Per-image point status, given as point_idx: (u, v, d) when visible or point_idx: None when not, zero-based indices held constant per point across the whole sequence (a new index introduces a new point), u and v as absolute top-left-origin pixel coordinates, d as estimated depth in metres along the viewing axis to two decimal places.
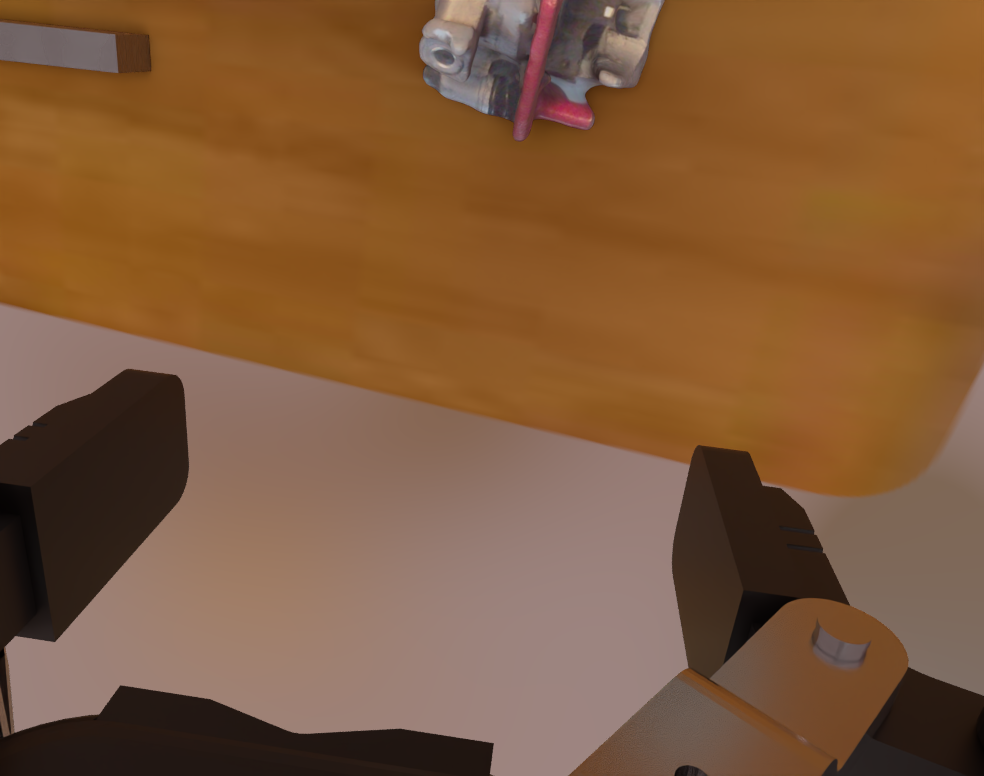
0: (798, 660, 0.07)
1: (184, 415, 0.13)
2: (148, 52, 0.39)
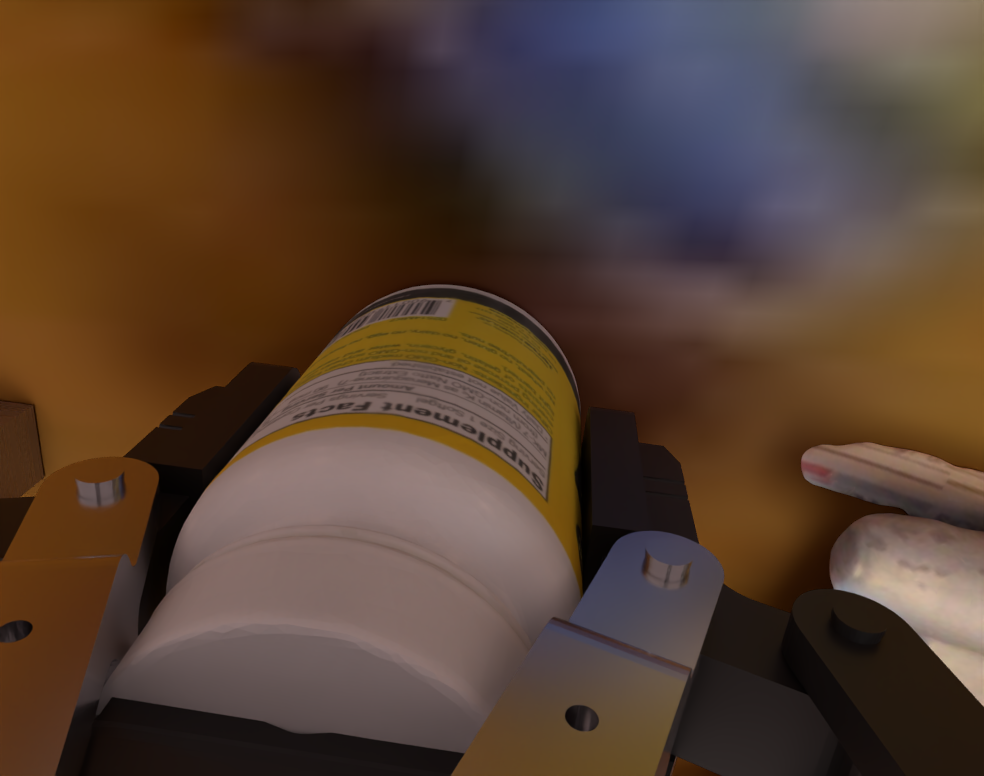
0: (637, 589, 0.08)
1: None
2: None
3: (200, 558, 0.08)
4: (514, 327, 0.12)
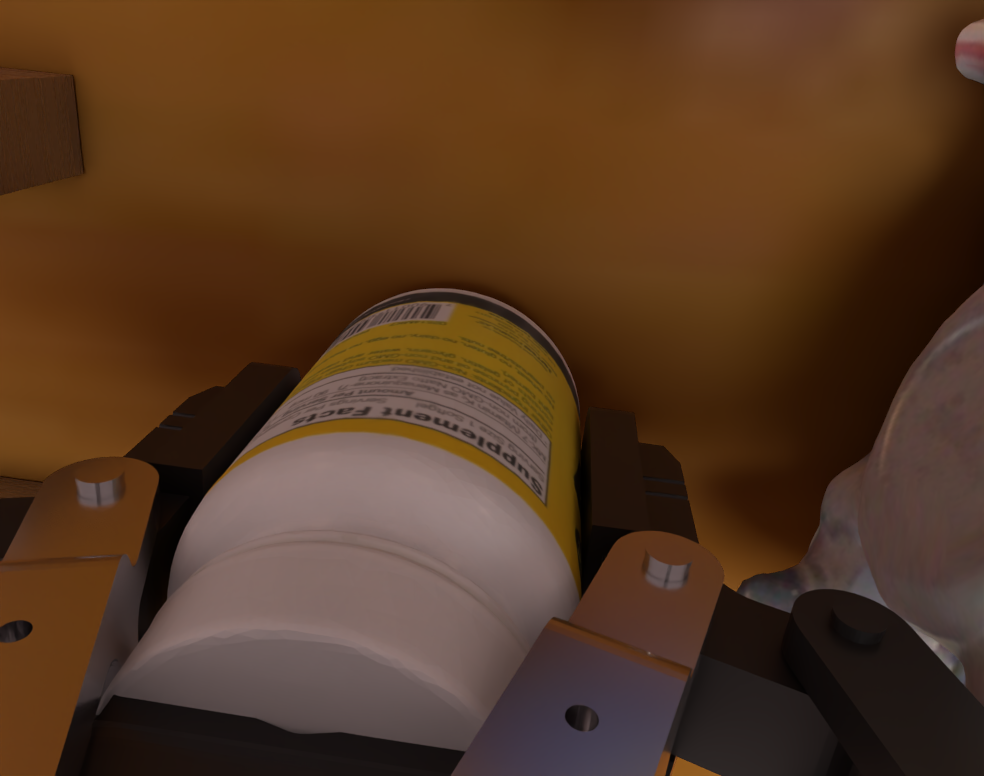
0: (637, 589, 0.08)
1: None
2: None
3: (201, 563, 0.08)
4: (514, 331, 0.12)
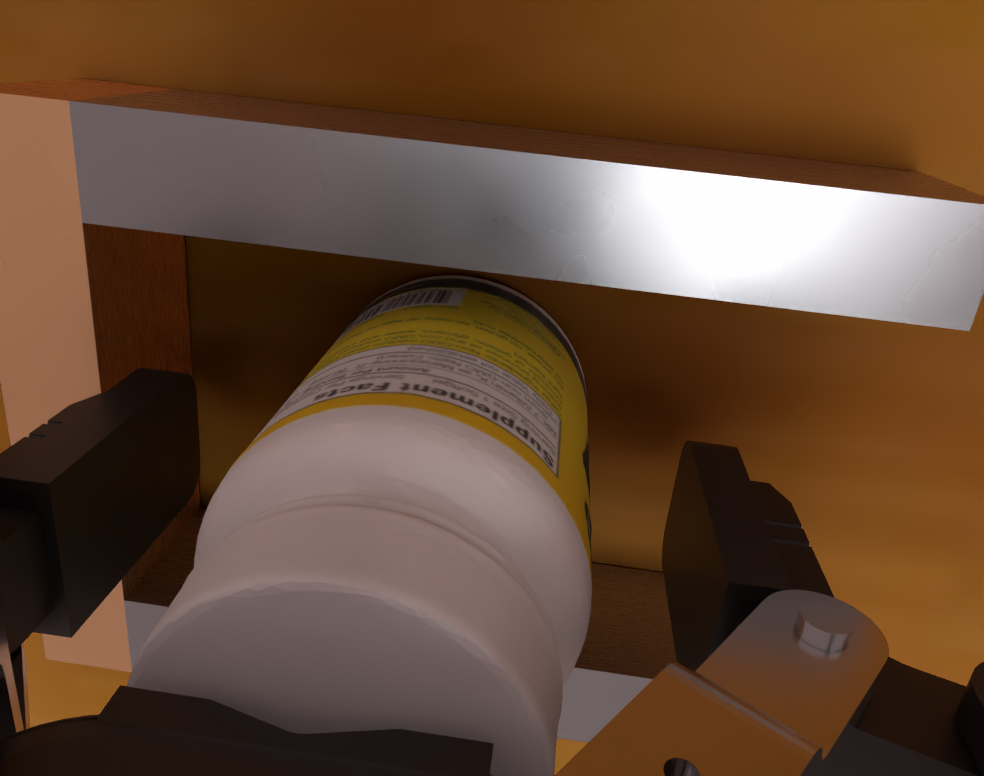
0: (781, 651, 0.07)
1: (197, 414, 0.13)
2: None
3: (228, 530, 0.09)
4: (523, 315, 0.13)
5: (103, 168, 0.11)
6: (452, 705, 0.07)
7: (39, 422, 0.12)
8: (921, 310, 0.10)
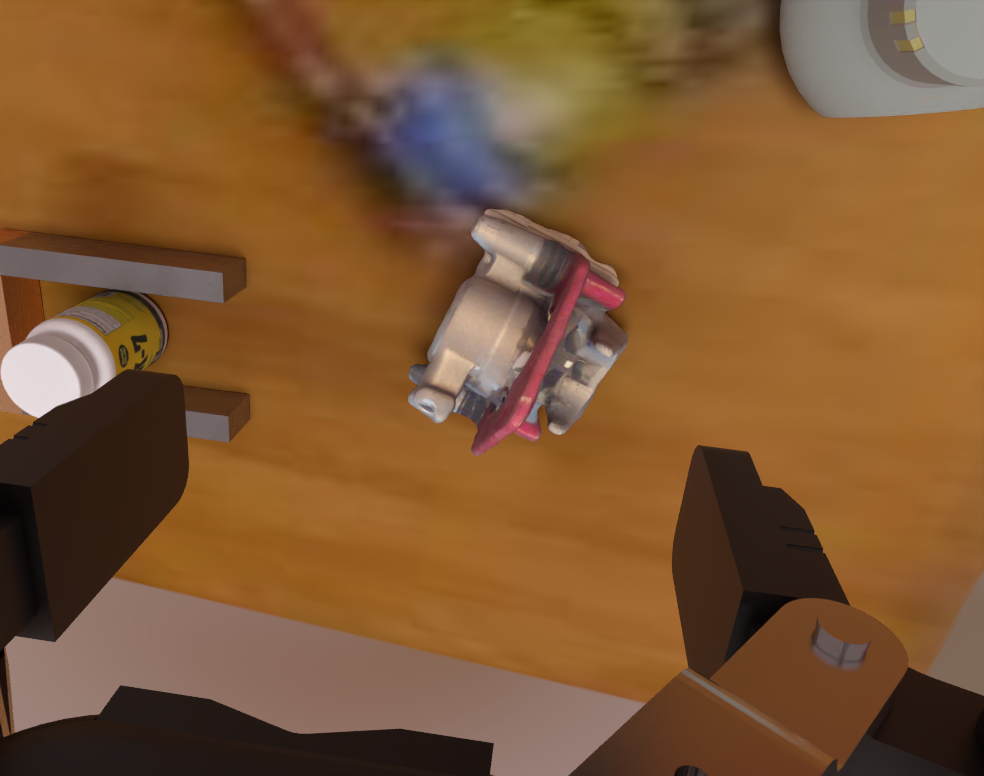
0: (798, 660, 0.07)
1: (184, 415, 0.13)
2: (248, 407, 0.47)
3: None
4: (132, 300, 0.43)
5: (5, 261, 0.42)
6: (57, 367, 0.38)
7: None
8: (210, 297, 0.41)
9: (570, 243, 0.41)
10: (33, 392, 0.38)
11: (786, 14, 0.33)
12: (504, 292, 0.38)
